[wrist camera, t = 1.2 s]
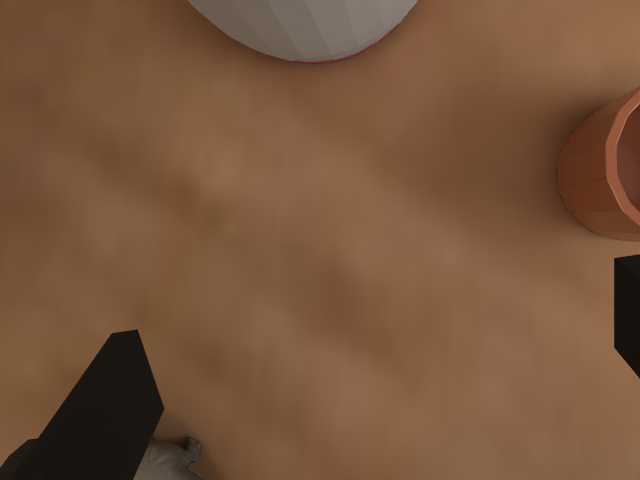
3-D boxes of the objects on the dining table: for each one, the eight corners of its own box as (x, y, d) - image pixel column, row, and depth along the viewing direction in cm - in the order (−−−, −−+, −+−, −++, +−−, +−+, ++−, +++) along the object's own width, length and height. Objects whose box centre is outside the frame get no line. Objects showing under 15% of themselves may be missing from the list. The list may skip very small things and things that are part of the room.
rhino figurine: (146, 353, 40) (100, 376, 34) (259, 523, 39) (232, 578, 33) (101, 385, 40) (48, 413, 34) (211, 554, 40) (176, 612, 34)
